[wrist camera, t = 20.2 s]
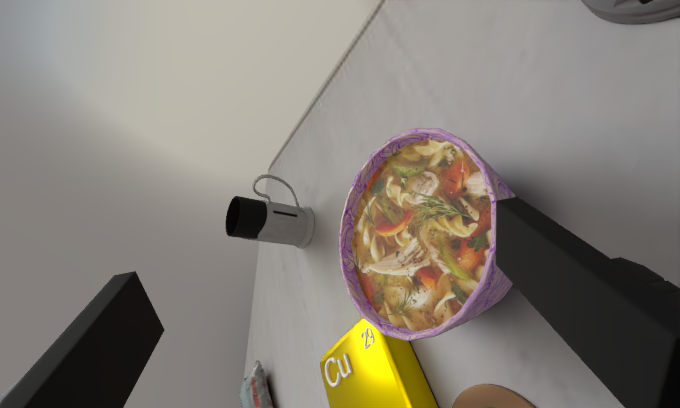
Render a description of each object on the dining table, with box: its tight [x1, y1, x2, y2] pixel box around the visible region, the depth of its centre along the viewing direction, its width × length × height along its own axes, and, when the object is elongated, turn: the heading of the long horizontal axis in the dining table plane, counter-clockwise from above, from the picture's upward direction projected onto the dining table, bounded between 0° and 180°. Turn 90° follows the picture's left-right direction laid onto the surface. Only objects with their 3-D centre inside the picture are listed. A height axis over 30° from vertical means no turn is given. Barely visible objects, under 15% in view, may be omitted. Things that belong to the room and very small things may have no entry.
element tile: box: [320, 317, 438, 408], centre depth 45 cm, size 15×15×5 cm
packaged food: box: [240, 361, 273, 408], centre depth 70 cm, size 9×12×5 cm
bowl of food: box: [339, 128, 516, 341], centre depth 36 cm, size 20×20×12 cm
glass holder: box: [226, 175, 315, 248], centre depth 67 cm, size 9×14×15 cm, turn 131°
